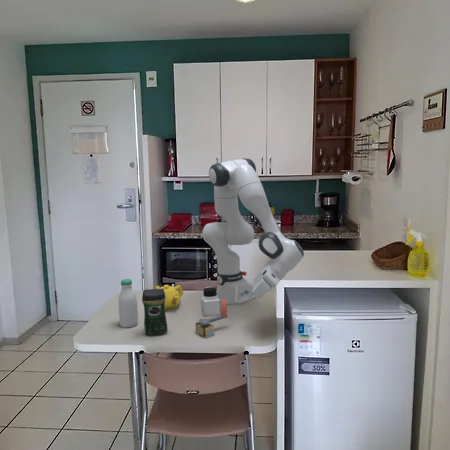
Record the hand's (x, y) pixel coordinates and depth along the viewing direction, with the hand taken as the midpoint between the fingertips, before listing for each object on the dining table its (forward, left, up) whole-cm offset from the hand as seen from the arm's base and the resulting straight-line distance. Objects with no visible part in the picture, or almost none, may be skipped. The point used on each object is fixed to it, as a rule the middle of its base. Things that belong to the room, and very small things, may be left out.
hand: (247, 296), depth 176 cm
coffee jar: (+32, -22, -14) cm, 41 cm away
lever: (+12, -8, -10) cm, 18 cm away
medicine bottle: (+2, -25, -14) cm, 29 cm away
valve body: (+17, -8, -14) cm, 23 cm away
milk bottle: (+37, -37, -14) cm, 54 cm away
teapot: (+14, -44, -14) cm, 48 cm away
